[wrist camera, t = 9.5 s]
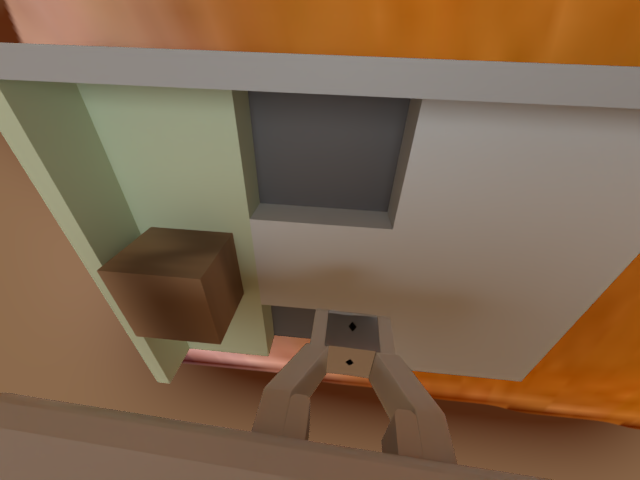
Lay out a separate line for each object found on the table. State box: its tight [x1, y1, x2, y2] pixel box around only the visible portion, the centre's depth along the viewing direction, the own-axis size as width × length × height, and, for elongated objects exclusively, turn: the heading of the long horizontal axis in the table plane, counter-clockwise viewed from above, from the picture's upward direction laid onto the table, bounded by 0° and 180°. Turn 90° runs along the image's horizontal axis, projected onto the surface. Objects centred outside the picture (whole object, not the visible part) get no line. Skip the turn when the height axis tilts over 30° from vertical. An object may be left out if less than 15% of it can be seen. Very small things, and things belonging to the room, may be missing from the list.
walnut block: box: [97, 227, 244, 345], centre depth 15 cm, size 5×5×4 cm
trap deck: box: [0, 43, 640, 383], centre depth 15 cm, size 29×21×6 cm
